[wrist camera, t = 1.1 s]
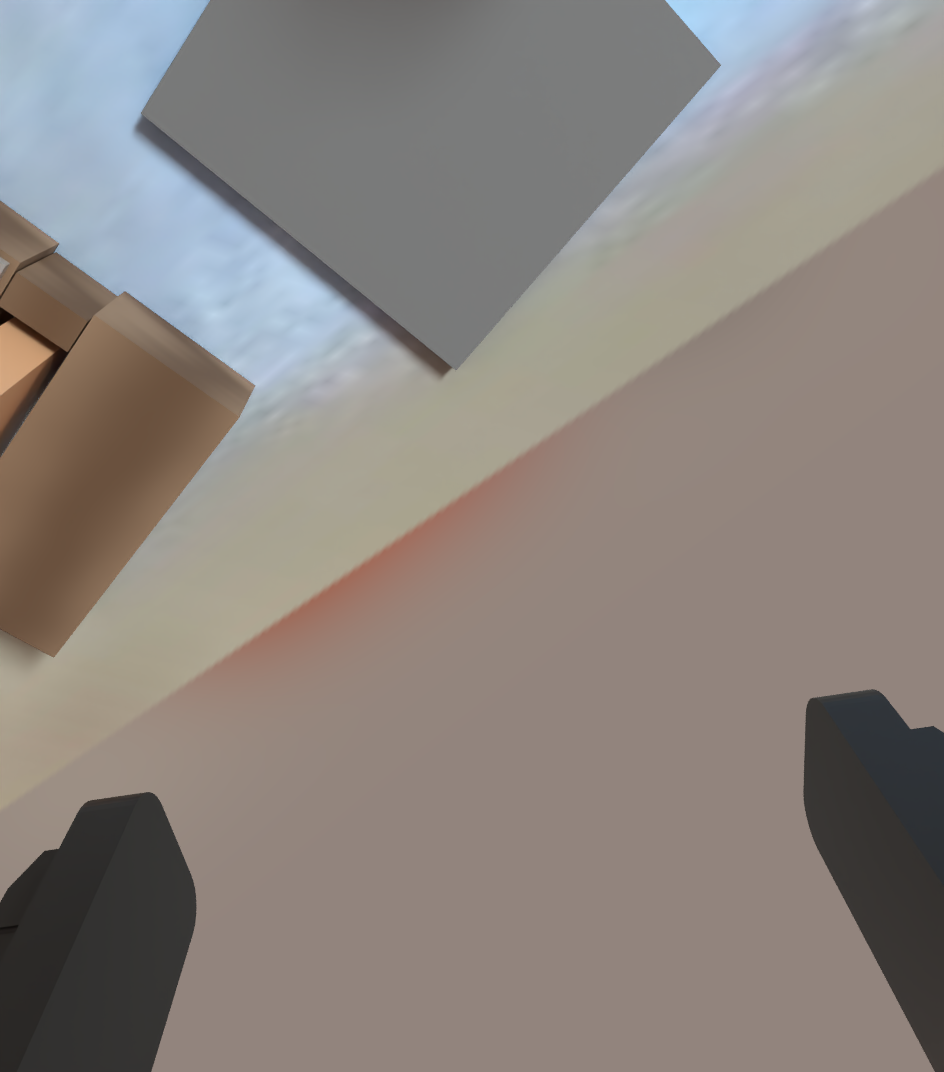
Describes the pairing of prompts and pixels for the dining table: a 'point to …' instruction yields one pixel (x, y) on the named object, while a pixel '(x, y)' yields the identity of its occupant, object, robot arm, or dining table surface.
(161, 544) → the dining table surface
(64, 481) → the brown slotted wooden block
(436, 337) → the mat
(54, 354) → the peach rectangular slab
